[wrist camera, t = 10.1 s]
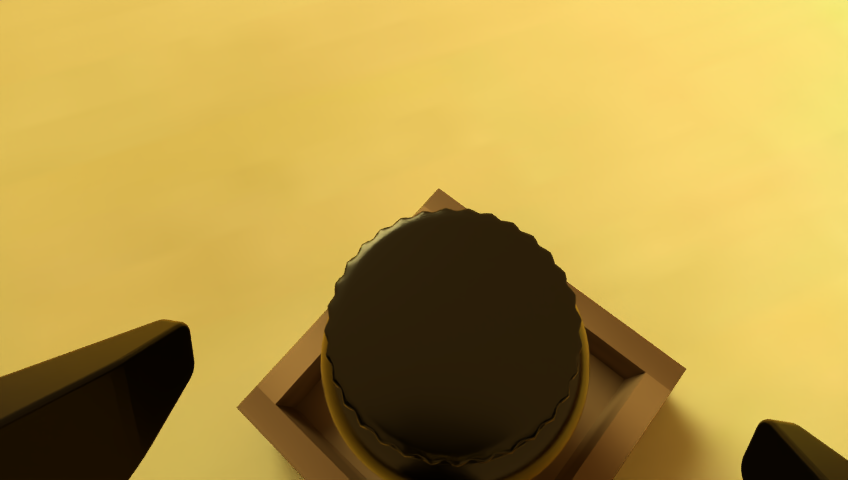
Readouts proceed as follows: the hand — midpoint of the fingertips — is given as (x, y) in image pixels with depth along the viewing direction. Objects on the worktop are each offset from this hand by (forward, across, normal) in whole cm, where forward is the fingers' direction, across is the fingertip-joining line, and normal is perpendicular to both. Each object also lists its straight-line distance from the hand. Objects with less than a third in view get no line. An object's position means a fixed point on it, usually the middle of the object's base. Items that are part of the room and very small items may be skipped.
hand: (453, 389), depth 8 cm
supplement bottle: (+10, 0, +8) cm, 13 cm away
